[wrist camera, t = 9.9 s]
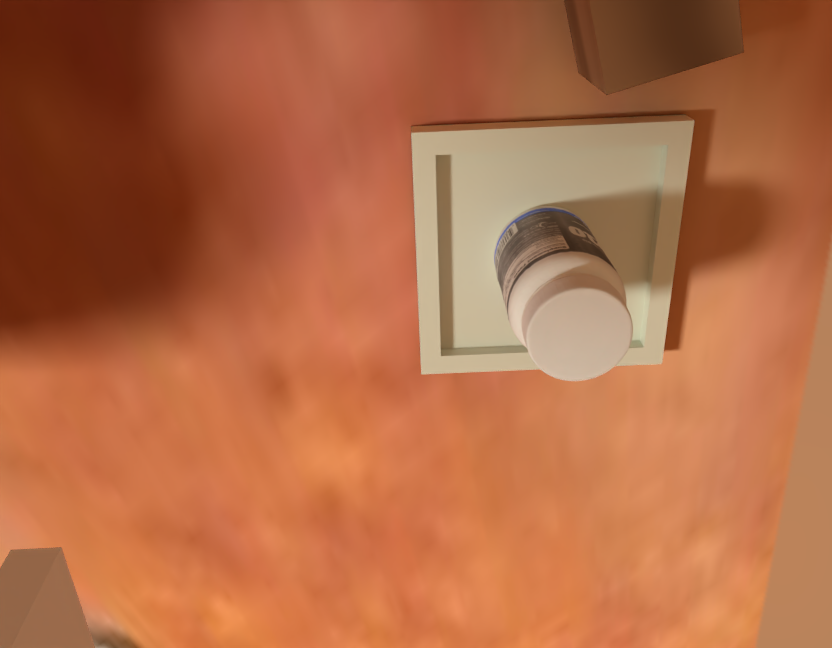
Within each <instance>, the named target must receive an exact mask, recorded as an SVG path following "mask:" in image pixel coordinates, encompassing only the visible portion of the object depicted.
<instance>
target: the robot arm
mask: <svg viewBox="0 0 832 648" xmlns="http://www.w3.org/2000/svg"><path fill="white" fill-rule="evenodd" d="M0 648H95V646H94V643H93V640H92V637H91V634H90V631H89V628H88V625H87V622H86V619H85V616H84V613H83V610H82V607H81V604H80V601H79V598H78V595H77V592H76V589H75V586H74V583H73V581H72V578H71V575H70V572H69V569H68V566H67V563H66V560H65V557H64V554H63V551H62V548H61V547H57V548H38V549H19V550H11V551H10V552H9V554H8V556H7V557H6V559H5V561H4V563H3V564H2V566H1V568H0Z"/></svg>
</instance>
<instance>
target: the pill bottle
mask: <svg viewBox="0 0 832 648" xmlns="http://www.w3.org/2000/svg"><path fill="white" fill-rule="evenodd" d="M494 264H495V270H496V274H497V279H498V282H499V285H500V288H501V291H502V295H503V300H504V303H505V306H506V310H507V314H508V320H509V322H510V325H511V327H512V329H513V332H514V333H515V335H516V337H517V338H518V339H519V341H520V342H521V343H522V344H523V345H524V346H525V347H526V348H527V350H528V353H529V355H530V357H531V359H532V360H533V362H534V363H535V364H536V365H537V366H538V367H539V368H540V369H541V370H542V371H543V372H545V373H546V374H548V375H550V376H552V377H555V378H557V379H561V380H566V381H583V380H589V379H592V378H595V377H598V376H600V375H602V374H604V373H606V372H608V371H609V370H611V369H612V368H613V367H615V366H616V365H617V364H618V363H619V362H620V361H621V360H622V358H623V357H624V356H625V354H626V353H627V351H628V349H629V347H630V344H631V341H632V335H633V323H632V319H631V315H630V313H629V310H628V308H627V306H626V293H625V288H624V285H623V282H622V280H621V278H620V276H619V274H618V273H617V271H616V269H615V268H614V266H613V265H612V263H611V262H610V260H609V259H608V257H607V256H606V254H605V253H604V251H603V249H602V248H601V246H600V244H599V243H598V242H597V240H596V239H595V237H594V236H593V234H592V232H591V231H590V229H589V228H588V226H587V225H586V224H585V223H584V221H583V220H582V219H581V218H580V217H578V216H577V215H576V214H574V213H573V212H571V211H569V210H567V209H564V208H560V207H555V206H540V207H535V208H532V209H529V210H526V211H524V212H522V213H520V214H519V215H517V216H516V217H514V218H513V219H512V220H510V221H509V222H508V223H507V224H506V226H505V227H504V228H503V229H502V231H501V233H500V234H499V236H498V239H497V241H496V244H495V249H494Z"/></svg>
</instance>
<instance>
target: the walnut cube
mask: <svg viewBox="0 0 832 648" xmlns="http://www.w3.org/2000/svg"><path fill="white" fill-rule="evenodd" d="M564 2H565V7H566V12H567V17H568V22H569V27H570V32H571V37H572V42H573V47H574V52H575V57H576V62H577V67H578V72H579V73H580V74H581V75H582V76H583V77H585V78H586V79H587V80H588V81H590V82H591V83H592V84H593V85H595V86H596V87H597V88H598V89H600V90H601V91H602V92H603V93H605V94H606V95H608V94H612V93H615V92H618V91H621V90H624V89H628V88H631V87H634V86H637V85H640V84H644V83H647V82H650V81H653V80H657V79H660V78H663V77H666V76H669V75H673V74H676V73H679V72H682V71H686V70H689V69H692V68H695V67H698V66H702V65H705V64H708V63H711V62H714V61H718V60H721V59H724V58H727V57H731V56H734V55H737V54H740V53H743V52H744V48H743V38H742V27H741V17H740V7H739V0H564Z"/></svg>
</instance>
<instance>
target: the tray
mask: <svg viewBox="0 0 832 648" xmlns="http://www.w3.org/2000/svg"><path fill="white" fill-rule="evenodd" d="M694 121H695V120H693V119H692V118H690V117H688V116H687V115H685V114H681V115H658V116H635V117H612V118H589V119H566V120H543V121H520V122H497V123H474V124H451V125H428V126H411V141H412V165H413V189H414V213H415V237H416V260H417V284H418V308H419V332H420V356H421V374H441V373H465V372H488V371H511V370H535V369H540V368H539V367H538V366H537V365H536V364H535V363H534V362H533V360H532V359H531V357H530V355H529V353H528V350H527V348H526V347H525V346H524V345H523V344H522V343H521V342H520V341H519V339H518V338H517V337H516V335H515V333H514V332H513V329H512V327H511V325H510V322H509V320H508V314H507V310H506V306H505V303H504V300H503V295H502V291H501V288H500V285H499V282H498V279H497V274H496V270H495V264H494V249H495V244H496V241H497V239H498V236H499V234H500V233H501V231H502V229H503V228H504V227H505V226H506V224H507V223H508V222H509V221H510V220H512V219H513V218H514V217H516V216H517V215H519V214H520V213H522V212H524V211H526V210H529V209H532V208H535V207H540V206H555V207H560V208H564V209H567V210H569V211H571V212H573V213H574V214H576V215H577V216H578V217H580V218H581V219H582V220H583V221H584V223H585V224H586V225H587V226H588V228H589V229H590V231H591V232H592V234H593V236H594V237H595V239H596V240H597V242H598V243H599V244H600V246H601V248H602V249H603V251H604V253H605V254H606V256H607V257H608V259H609V260H610V262H611V263H612V265H613V266H614V268H615V269H616V271H617V273H618V274H619V276H620V278H621V280H622V282H623V285H624V288H625V293H626V306H627V308H628V310H629V313H630V315H631V319H632V323H633V335H632V341H631V344H630V347H629V349H628V351H627V353H626V354H625V356H624V357H623V358H622V360H621V361H620V362H619V363H618V364H617V365H616V366H628V365H651V364H662V360H663V353H664V345H665V338H666V330H667V323H668V315H669V308H670V301H671V293H672V286H673V278H674V271H675V263H676V256H677V248H678V241H679V233H680V226H681V218H682V211H683V203H684V196H685V189H686V181H687V174H688V166H689V159H690V151H691V144H692V136H693V129H694Z"/></svg>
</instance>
